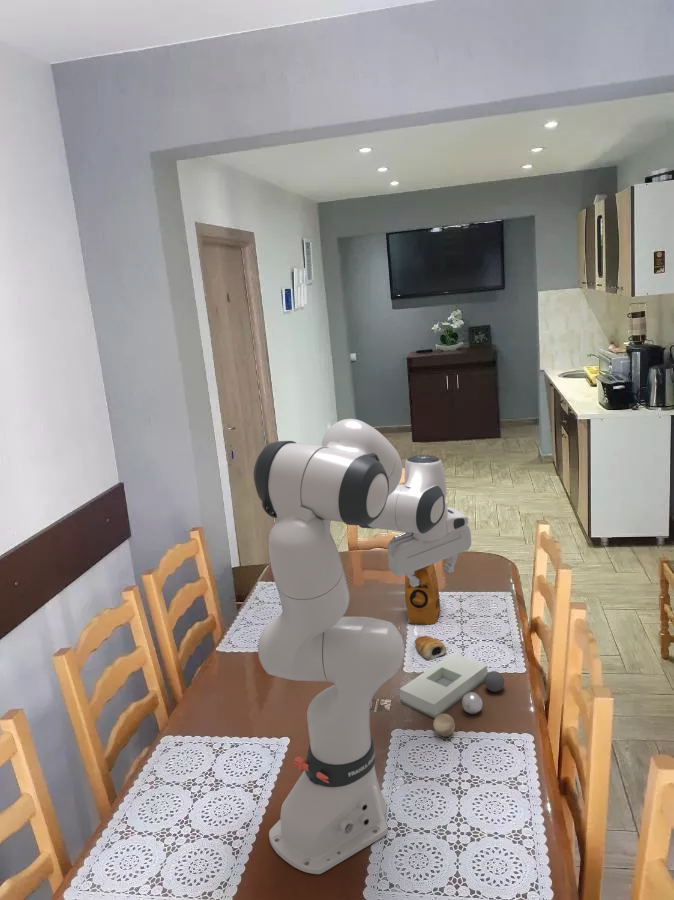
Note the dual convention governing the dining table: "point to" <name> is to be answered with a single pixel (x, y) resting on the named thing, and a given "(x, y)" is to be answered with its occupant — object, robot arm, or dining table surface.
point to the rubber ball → (494, 681)
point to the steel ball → (472, 703)
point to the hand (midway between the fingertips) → (432, 578)
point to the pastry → (430, 647)
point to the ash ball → (444, 724)
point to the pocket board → (443, 684)
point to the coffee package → (423, 597)
